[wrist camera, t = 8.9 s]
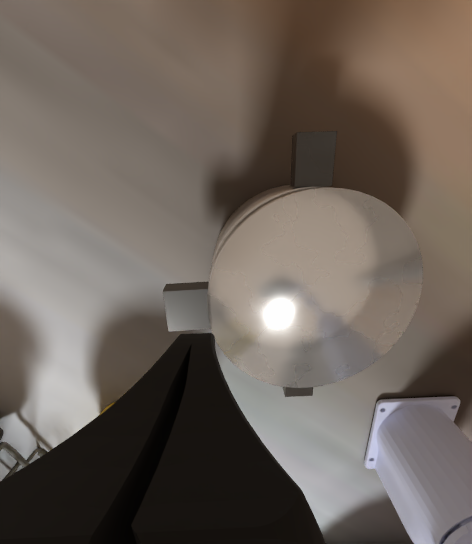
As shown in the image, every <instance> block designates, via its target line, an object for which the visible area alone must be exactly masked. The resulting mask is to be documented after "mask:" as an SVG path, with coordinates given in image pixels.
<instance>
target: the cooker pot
mask: <svg viewBox="0 0 472 544" xmlns="http://www.w3.org/2000/svg"><path fill="white" fill-rule="evenodd" d="M336 136H337V131H329V132H298V133H296V134H294V135H293V136H292V162H291V185H284V186H279V187H275V188H271V189H269V190H266V191H263V192H261V193H259V194H257V195H255V196H254V197H252V198H250V199H249V200H247V201H246V202H245V203H243V204H242V205H241V206H240V207H239V208H238V209H237V210H236V211H235V212H234V213H233V214H232V215H231V217H230V218H229V219H228V220H227V222H226V223H225V225H224V227H223V228H222V230H221V232H220V235H219V237H218V239H217V243H216V246H215V250H214V255H213V260H212V265H213V262H214V260H215V258H216V255H217V253H218V251H219V249H220V247H221V246H222V244H223V242H224V241H225V239H226V237H227V236H228V235H229V234H230V232H231V231H232V230H233V229H234V227H235V226H236V225H237V224H238V223H239V222H240V221H241V220H242V219H243V218H245V217H246V216H247V215H248V214H249V213H251V212H252V211H253V210H255V209H256V208H257V207H259V206H260V205H262V204H264V203H266V202H268V201H269V200H271V199H273V198H275V197H278V196H280V195H283V194H285V193H288V192H292V191H296V190H300V189H305V188H315V187H321V186H332V179H333V168H334V157H335V147H336ZM331 188H332V187H331ZM212 265H211V269H212ZM211 269H210V272H211ZM283 390H284V394H285V397H290V396H312V394H313V387H309V388H292V387H283Z"/></svg>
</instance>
